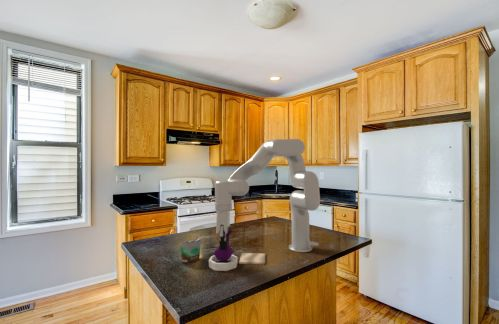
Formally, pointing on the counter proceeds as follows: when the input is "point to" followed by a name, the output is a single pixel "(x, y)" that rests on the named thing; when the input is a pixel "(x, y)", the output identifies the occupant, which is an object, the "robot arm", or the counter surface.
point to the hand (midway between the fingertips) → (224, 246)
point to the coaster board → (252, 258)
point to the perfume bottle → (224, 254)
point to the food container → (190, 250)
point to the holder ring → (223, 266)
